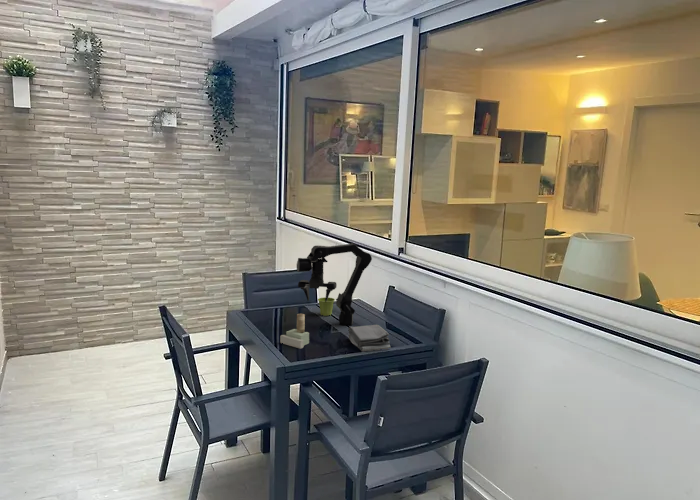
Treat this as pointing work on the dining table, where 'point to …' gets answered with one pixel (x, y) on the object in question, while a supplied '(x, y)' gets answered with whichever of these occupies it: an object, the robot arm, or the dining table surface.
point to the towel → (369, 337)
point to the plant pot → (326, 306)
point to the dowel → (300, 323)
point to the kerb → (291, 341)
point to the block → (299, 335)
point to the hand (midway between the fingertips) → (317, 301)
